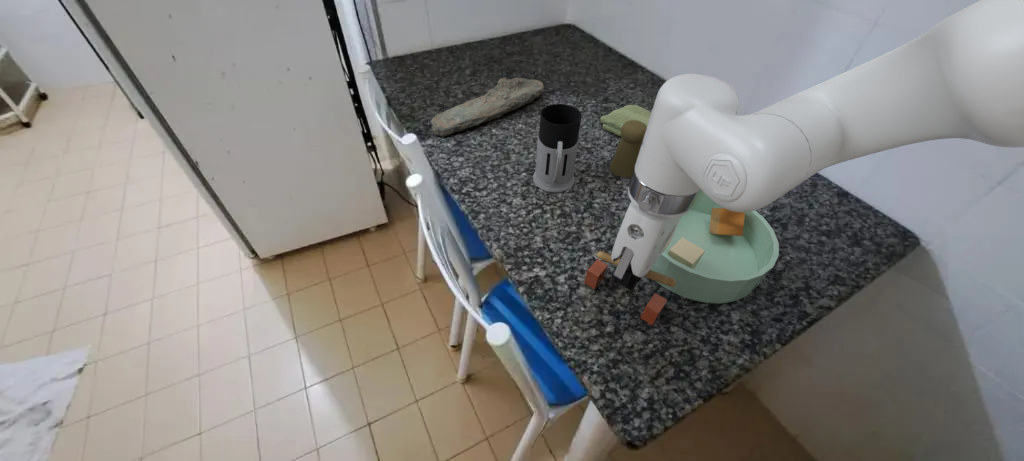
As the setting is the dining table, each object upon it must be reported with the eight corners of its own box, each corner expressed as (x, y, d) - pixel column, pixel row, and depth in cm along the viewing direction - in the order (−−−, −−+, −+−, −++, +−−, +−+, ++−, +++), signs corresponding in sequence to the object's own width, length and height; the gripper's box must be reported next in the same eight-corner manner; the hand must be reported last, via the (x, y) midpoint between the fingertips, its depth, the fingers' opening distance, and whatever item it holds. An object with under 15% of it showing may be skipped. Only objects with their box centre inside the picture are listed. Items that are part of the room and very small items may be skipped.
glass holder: (574, 167, 85) (584, 103, 74) (575, 212, 75) (587, 146, 64) (533, 164, 85) (538, 100, 74) (530, 209, 75) (534, 143, 65)
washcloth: (626, 109, 102) (629, 97, 100) (687, 136, 94) (692, 124, 91) (595, 127, 96) (597, 115, 94) (658, 158, 87) (662, 146, 85)
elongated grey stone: (422, 130, 96) (446, 150, 91) (419, 112, 92) (443, 131, 87) (527, 81, 111) (552, 96, 106) (528, 64, 107) (553, 78, 102)
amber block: (732, 234, 70) (735, 209, 70) (742, 236, 66) (745, 209, 66) (709, 232, 71) (711, 208, 70) (717, 234, 67) (720, 208, 66)
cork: (608, 174, 83) (618, 129, 75) (611, 158, 87) (622, 113, 79) (636, 179, 82) (651, 134, 74) (638, 163, 86) (652, 118, 78)
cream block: (695, 268, 65) (705, 250, 62) (683, 281, 63) (692, 264, 60) (673, 254, 67) (682, 236, 64) (661, 267, 65) (669, 249, 62)
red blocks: (660, 312, 60) (667, 299, 57) (652, 325, 58) (658, 313, 56) (593, 272, 65) (597, 258, 62) (584, 283, 63) (587, 270, 61)
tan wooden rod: (678, 279, 53) (675, 281, 52) (675, 287, 53) (673, 289, 52) (600, 249, 60) (596, 250, 59) (598, 256, 60) (594, 258, 59)
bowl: (776, 246, 70) (794, 222, 65) (736, 328, 58) (754, 306, 54) (663, 194, 79) (672, 170, 75) (609, 256, 67) (616, 232, 63)
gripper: (664, 240, 39) (623, 330, 53) (719, 169, 48) (671, 262, 61) (600, 206, 43) (577, 300, 56) (662, 145, 51) (628, 239, 64)
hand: (626, 280), depth 59 cm, fingers closed on tan wooden rod, 1 cm apart
